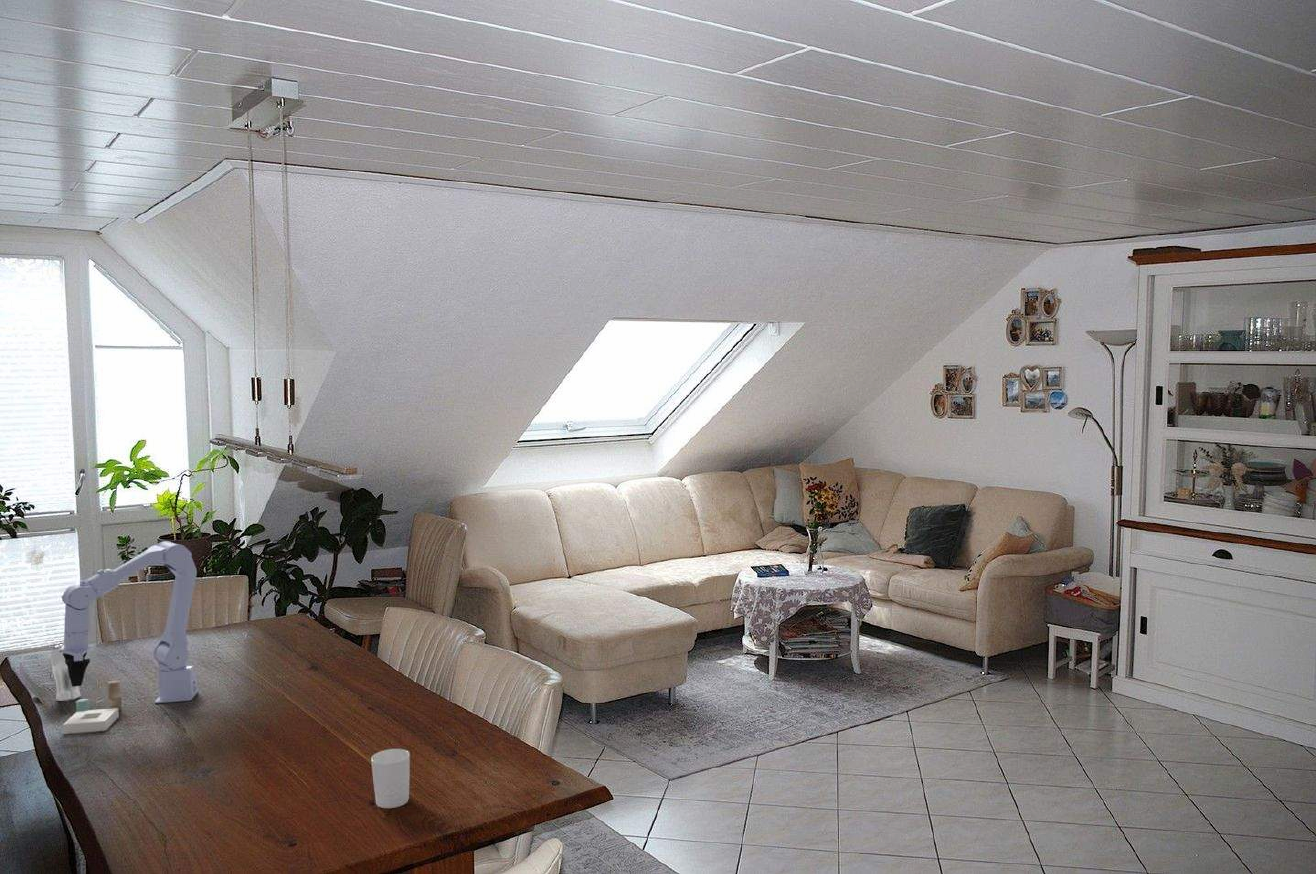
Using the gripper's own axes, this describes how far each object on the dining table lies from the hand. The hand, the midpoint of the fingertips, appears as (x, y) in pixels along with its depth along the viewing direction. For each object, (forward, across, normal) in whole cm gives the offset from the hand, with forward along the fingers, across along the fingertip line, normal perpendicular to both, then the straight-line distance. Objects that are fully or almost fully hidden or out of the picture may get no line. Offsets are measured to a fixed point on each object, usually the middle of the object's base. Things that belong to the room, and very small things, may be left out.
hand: (75, 682), depth 262 cm
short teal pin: (+11, -4, +2) cm, 12 cm away
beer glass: (+11, -24, 0) cm, 27 cm away
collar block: (+11, +5, +4) cm, 12 cm away
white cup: (+8, +97, +52) cm, 111 cm away
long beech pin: (+10, -4, +10) cm, 15 cm away
